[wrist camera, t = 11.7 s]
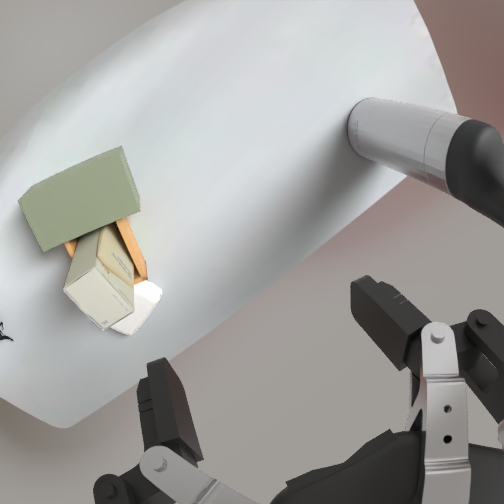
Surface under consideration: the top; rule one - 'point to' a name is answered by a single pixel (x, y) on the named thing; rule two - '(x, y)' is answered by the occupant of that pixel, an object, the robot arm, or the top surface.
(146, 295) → the soap
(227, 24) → the top surface
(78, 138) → the top surface
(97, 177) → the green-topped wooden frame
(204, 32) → the top surface
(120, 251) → the skincare box
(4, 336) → the creature
